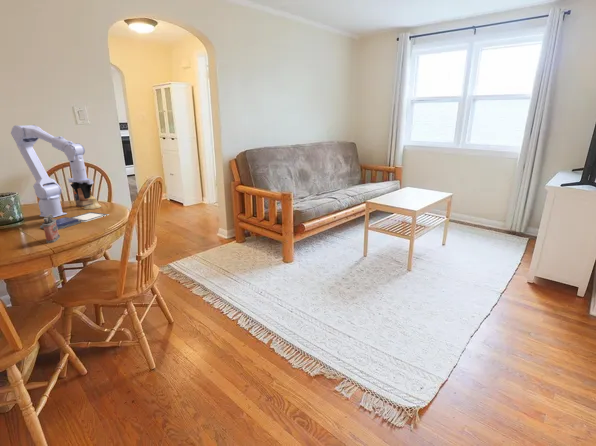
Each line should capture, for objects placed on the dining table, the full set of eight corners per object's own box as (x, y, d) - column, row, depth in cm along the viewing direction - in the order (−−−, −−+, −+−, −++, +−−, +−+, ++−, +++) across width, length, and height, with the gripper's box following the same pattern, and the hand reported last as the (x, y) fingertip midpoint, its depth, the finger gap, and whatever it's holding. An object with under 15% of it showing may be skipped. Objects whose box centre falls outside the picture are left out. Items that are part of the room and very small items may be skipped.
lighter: (54, 242, 132) (48, 218, 129) (44, 243, 131) (38, 219, 128) (61, 236, 139) (56, 212, 136) (52, 236, 138) (46, 213, 135)
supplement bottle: (83, 207, 185) (79, 187, 181) (74, 206, 186) (69, 186, 182) (91, 204, 190) (87, 184, 187) (82, 204, 191) (78, 184, 188)
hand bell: (91, 205, 188) (85, 177, 184) (104, 205, 187) (99, 177, 182) (80, 209, 181) (73, 179, 176) (93, 209, 179) (88, 180, 174)
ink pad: (40, 228, 150) (39, 223, 149) (66, 220, 160) (65, 216, 160) (55, 230, 146) (54, 226, 146) (81, 222, 157) (80, 218, 156)
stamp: (76, 205, 162) (73, 189, 160) (86, 203, 167) (83, 187, 165) (83, 206, 161) (80, 189, 158) (93, 204, 165) (90, 188, 163)
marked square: (66, 219, 163) (66, 218, 163) (91, 212, 174) (90, 211, 174) (85, 222, 158) (84, 221, 158) (109, 214, 169) (109, 214, 169)
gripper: (59, 170, 158) (66, 198, 162) (81, 171, 153) (87, 200, 157) (74, 168, 164) (79, 195, 168) (95, 169, 159) (100, 197, 163)
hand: (84, 197), depth 163 cm, fingers closed on stamp, 4 cm apart
